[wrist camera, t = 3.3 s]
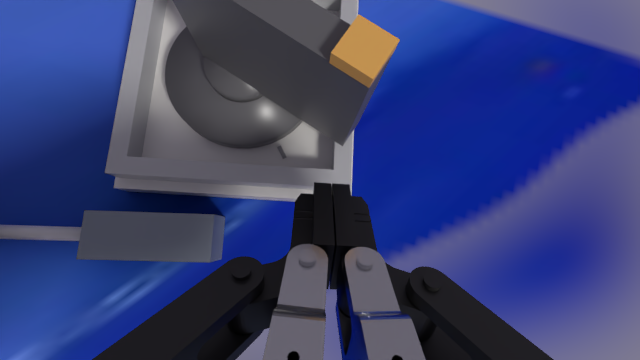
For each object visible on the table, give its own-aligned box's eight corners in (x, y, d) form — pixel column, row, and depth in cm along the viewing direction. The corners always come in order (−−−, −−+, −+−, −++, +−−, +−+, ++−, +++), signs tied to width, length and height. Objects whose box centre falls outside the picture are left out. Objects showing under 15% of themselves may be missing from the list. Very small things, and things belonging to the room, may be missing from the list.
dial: (141, 96, 19) (-9, -35, 10) (229, -8, 20) (172, -205, 11) (305, 204, 18) (309, 172, 9) (382, 88, 20) (452, -38, 11)
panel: (127, 191, 20) (96, 183, 17) (160, -3, 22) (138, -39, 19) (347, 204, 20) (355, 199, 17) (354, 15, 23) (362, -18, 20)
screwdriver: (225, 217, 20) (214, 214, 17) (222, 258, 19) (210, 262, 17) (2, 210, 19) (-44, 206, 17) (-7, 253, 19) (-56, 255, 16)
